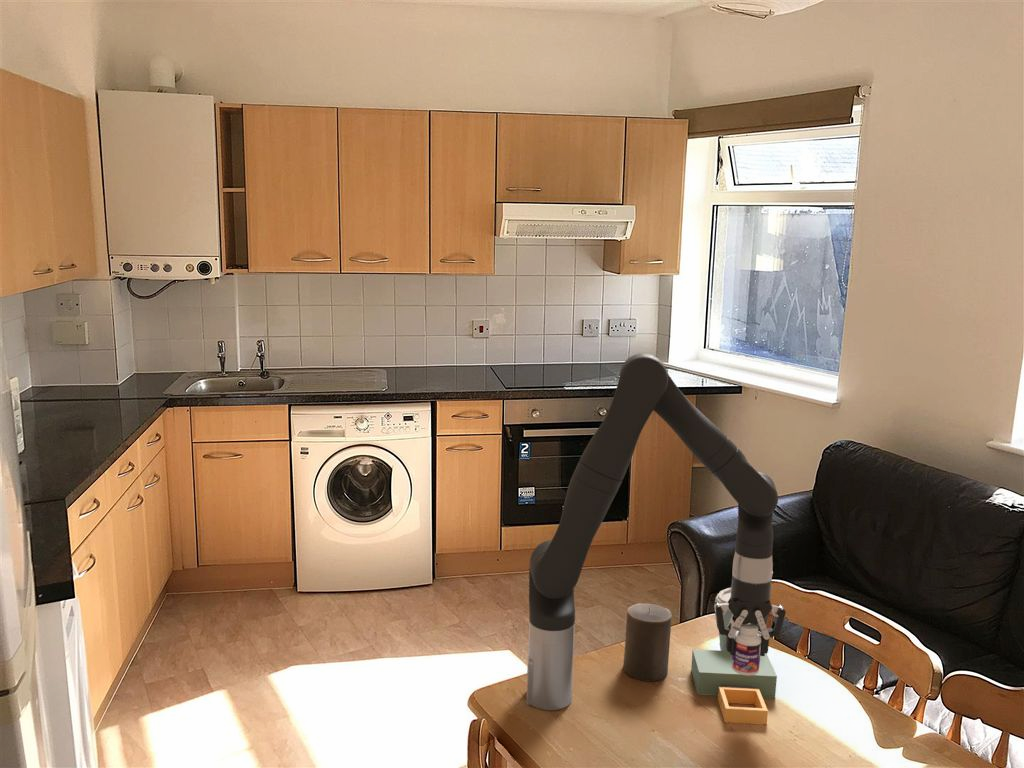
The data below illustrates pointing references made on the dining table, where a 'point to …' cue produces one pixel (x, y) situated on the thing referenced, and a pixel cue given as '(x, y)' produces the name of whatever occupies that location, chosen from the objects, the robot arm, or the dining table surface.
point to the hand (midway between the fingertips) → (746, 653)
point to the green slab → (734, 685)
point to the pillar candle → (647, 642)
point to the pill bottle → (747, 650)
